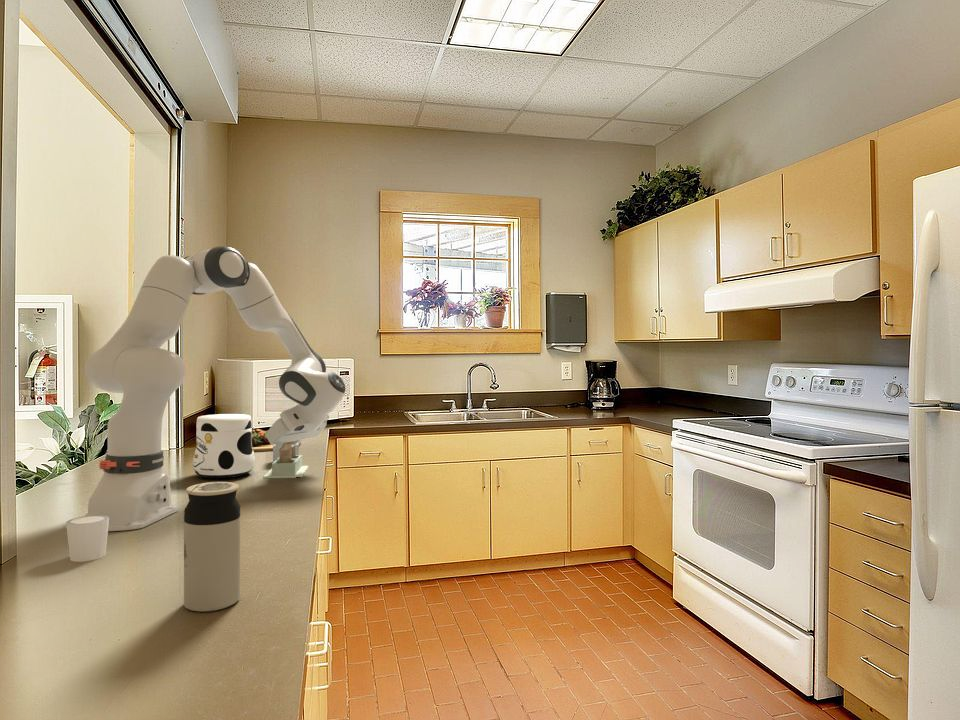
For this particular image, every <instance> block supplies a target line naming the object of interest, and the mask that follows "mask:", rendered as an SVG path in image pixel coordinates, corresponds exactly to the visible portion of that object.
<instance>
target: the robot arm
mask: <svg viewBox="0 0 960 720" xmlns="http://www.w3.org/2000/svg"><path fill="white" fill-rule="evenodd" d="M221 291H224V292H225V293H227V294H228V295H229V296H230V298H231V299H232V301H233V304H234V306H235V308H236V310H237V311H238V313H239V316H240V317H241V319H242V320H243V321H244V323H245V324H246V325H247V326H248V327H249V328H250V329H252V330H253V331H256V332H262V333H272V334H274V335H275V336H277V338H279V340H280V342H281V343H282V344H283V346H284V348H285V350H286V351H287V352H288V354H289V356H290V358H291V359H290V360H291V364H290V365H289V366H288V367H287V368H286V370H284V372H283V373H282V374H281V375H280V377H279V379H278V387H279V390H280V391H281V393H282V394H283V396H285V397H286V398H288V399H289V400H291V401H293V402H294V403H296V405H295V406H293V407H291V408H288V409H285V410H283V411H281V412H280V414H279V418H278V419H276V420H275V421H274V423H273V424H272V425H271V426H270V427H269V429H268V430H267V431H268V432H267V433H266V437H267V439H268V441H269V442H270V444H272V445H274V444H276V445H275V447H276V449H277V450H279V449H282V448H283V447H284V445H283V443H285V442H291V441H292V447H294V446H295V444H297V443H298V442H300V441H301V442H302V441H303V440H307V439H313V438H317V437H318V436H320V435H321V433H322V432H323V431H324V429H325V428H326V426H327V423H328V422H327V421H328V420H329V419H330V415H329V414H330V413H331V412H333V411H334V410H335V409H336V408H337V406H338V405H339V404H340V403H341V401H342V399H343V398H344V396H345V393H346V384H345V382H344V380H343V379H342V377H341V376H340V375H338V374H337V373H335V372H333V371H330V372H327V368H326V367H327V365H326V363H325V361H324V360H323V358H322V357H321V356H320V355H319V354H318V353H317V352H315V350H314V349H313V348H311V347H312V346H310V344H309V343H308V341H307V340H306V338H305V337H304V335H303V333H302V332H301V330H300V328H299V327H298V325H297V323H295V321H294V319H293V318H292V317H291V315H290V313H288V311H286V310H285V309H286V308H284V307H283V305H282V303H281V302H280V299H279V298H278V297H277V294H276V292H275V291H274V289H273V287H272V285H271V284H270V281H269V280H268V279H267V277H266V276H265V275H264V273H263V272H262V270H260V268H259V267H258V266H257V264H255V263H253V262H248V261H247V260H246V259H245V257H244V256H243V255H242V254H241V253H240V252H239V251H238V250H236V248H233V247H230V246H227V245H226V246H224V245H223V246H222V245H221V246H215V247H212V248H208V249H204V250H200V251H198V252H195V253H193V254H191V255H187V256H186V257H181V256H178V255H173V254H172V255H170V254H169V255H168V254H167V255H162V256H161V257H159V258H158V259H157V260H156V261H155V262H154V264H153V265H152V266H151V268H150V270H149V271H148V273H147V275H146V276H145V279H144V280H143V282H142V284H141V287H140V289H139V292H138V294H137V296H136V299H135V301H134V302H133V305H132V307H131V309H130V311H129V313H128V315H127V317H126V318H125V320H124V322H123V323H122V324H121V326H120V327H119V329H118V330H117V331H116V332H115V333H114V334H113V336H112V337H111V338H110V339H109V340H108V341H107V342H106V343H105V344H104V345H103V346H102V347H101V348H99V349H98V350H96V351H94V352H93V353H91V354H90V355H89V356H88V358H87V359H86V361H85V364H84V375H85V378H86V380H87V381H88V382H89V384H90V385H91V386H93V387H95V388H97V389H100V390H102V391H105V392H108V393H113V394H115V393H116V394H122V400H121V402H120V405H119V408H118V409H117V411H116V412H115V413H114V414H113V415H112V416H110V418H109V419H108V422H107V454H105V457H104V458H105V459H104V460H103V459H102V460H100V461H99V463H98V468H99V470H102V472H103V474H102V476H101V477H100V479H99V481H98V482H97V485H96V487H95V488H94V490H93V491H92V493H91V495H90V497H89V498H88V505H87V513H86V514H85V515H84V516H91V515H104V516H108V517H109V526H108V532H116V531H117V532H118V531H129V530H130V531H131V530H137V529H143V528H145V527H147V526H149V525H152V524H154V523H155V522H158V521H160V520H162V519H164V518H166V517H168V516H170V515H173V514H174V513H177V512H178V506H176V505H173V504H172V494H171V493H172V492H171V483H170V482H171V480H170V479H171V478H170V476H169V474H167V473H166V472H165V470H164V469H163V466H164V459H165V458H164V457H165V456H164V451H163V450H162V430H163V418H164V413H165V409H166V407H167V404H168V402H169V400H170V398H171V396H172V395H173V394H174V392H175V391H177V389H178V388H180V387H181V385H182V384H183V382H184V381H185V377H186V366H185V363H184V361H183V359H182V357H181V356H180V355H179V354H177V353H176V352H174V351H171V350H168V349H163V348H161V347H162V346H163V345H164V344H165V343H166V342H167V341H169V340H171V339H172V338H174V337H175V336H176V335H177V333H178V332H179V330H180V327H181V324H182V322H183V319H184V316H185V314H186V312H187V311H186V310H187V309H188V306H189V303H190V300H191V297H192V296H193V295H196V296H197V295H198V296H200V295H202V296H203V295H205V294H210V293H218V292H221Z"/></svg>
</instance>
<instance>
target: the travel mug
mask: <svg viewBox="0 0 960 720" xmlns="http://www.w3.org/2000/svg"><path fill="white" fill-rule="evenodd" d="M239 487H240V486H239V484H237V483H235V482H231V481H229V482H228V481H210V482H202V483H197V484H192V485H191V486H188V487H187V488H186V489H185V492H186V494H187V496H188V503H187V505H186V506H185V508H184V509H183V535H184V536H183V539H184V540H183V606H184V608H186V609H187V610H190V611H192V612H193V611H194V612H200V613H209V612H216V611H219V610H224V609H227V608H229V607H230V606H232V605H234V604H236V603H237V602H238V601H239V600H240V598H241V504H240V502H239V501H238V499H237V497H236V496H237V492H238V489H239Z"/></svg>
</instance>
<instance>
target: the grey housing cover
mask: <svg viewBox="0 0 960 720" xmlns="http://www.w3.org/2000/svg"><path fill="white" fill-rule="evenodd" d="M275 445H276V444H274V445H273V451H272V463H273V462H274V461H275V460H277V458H278V457H279V450H277V449H276V447H275ZM299 446H300V445H299V444H298V443H297V444H296V455H300V454H299Z"/></svg>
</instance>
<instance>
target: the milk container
mask: <svg viewBox="0 0 960 720" xmlns="http://www.w3.org/2000/svg"><path fill="white" fill-rule="evenodd" d="M252 430H253V429H252V417H251V415H250V414H245V413H243V414H242V413H241V414H240V413H218V414H216V413H215V414H206V415H200V416H198V417H197V418H196V431H195V432H196V435H195V436H196V439H195V440H196V446H195V451H194V454H193V457H192V466H193V467H192V468H193V471H194V473H195V474H196V475H198V476H199V477H203V478H208V479H226V478H227V479H229V478H237V477H241V476H244V475H247V474H248V473H250V472H252V470H253V469H254V466H255V461H256V460H255V459H256V458H255V452H254V451H253V448H252V442H251V437H252Z"/></svg>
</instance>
